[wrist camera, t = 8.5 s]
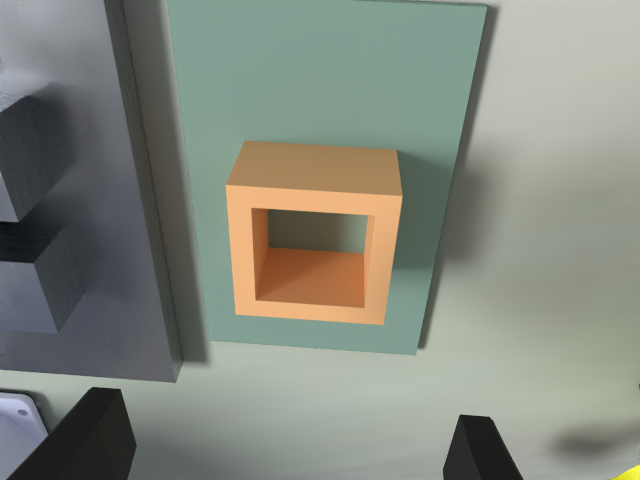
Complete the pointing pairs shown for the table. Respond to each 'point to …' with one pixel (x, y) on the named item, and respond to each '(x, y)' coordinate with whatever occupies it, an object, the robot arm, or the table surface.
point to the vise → (78, 201)
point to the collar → (316, 196)
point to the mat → (324, 136)
